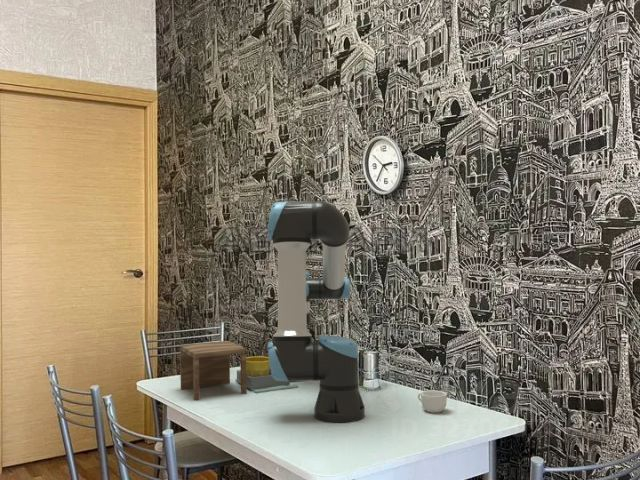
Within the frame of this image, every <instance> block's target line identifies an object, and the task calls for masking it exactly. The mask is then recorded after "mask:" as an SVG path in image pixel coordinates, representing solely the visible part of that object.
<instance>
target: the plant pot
mask: <svg viewBox="0 0 640 480" xmlns="http://www.w3.org/2000/svg"><path fill="white" fill-rule="evenodd" d="M269 369H270V363H269V356H263V355H262V356H259V355H258V356H246V375H249V376H251V377H260V376H268V374H269Z"/></svg>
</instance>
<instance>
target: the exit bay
mask: <svg viewBox="0 0 640 480" xmlns="http://www.w3.org/2000/svg"><path fill="white" fill-rule="evenodd" d="M234 380H235V382H236V383H238V382H237V378H236V379H234ZM297 388H299V385H298V384H291V385H283V386H275V387H268V388H260V389H253V393H255V394H261V393H268V392H274V391H275V392H277V391H281V390H282V391H283V390H289V389H290V390H292V389H297Z"/></svg>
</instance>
